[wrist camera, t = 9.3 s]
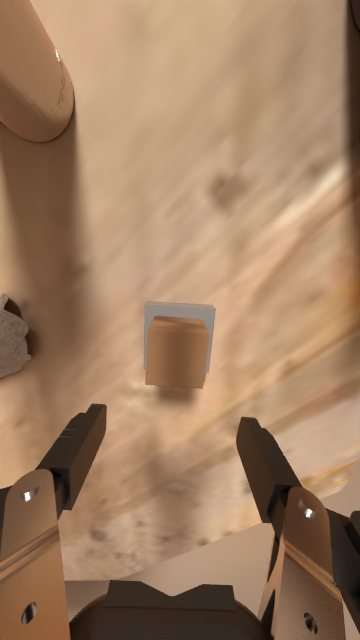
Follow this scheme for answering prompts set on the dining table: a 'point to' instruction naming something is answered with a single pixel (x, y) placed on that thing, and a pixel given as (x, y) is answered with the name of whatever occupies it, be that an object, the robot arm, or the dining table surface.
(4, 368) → the stone
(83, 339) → the dining table surface
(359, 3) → the boot
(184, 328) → the walnut cube
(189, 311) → the slate block
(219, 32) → the dining table surface
